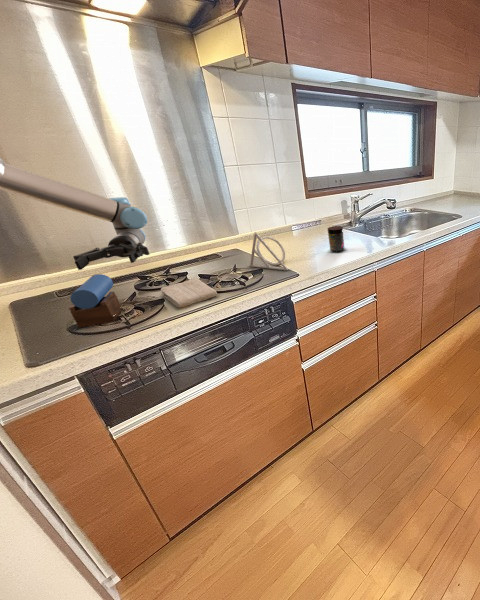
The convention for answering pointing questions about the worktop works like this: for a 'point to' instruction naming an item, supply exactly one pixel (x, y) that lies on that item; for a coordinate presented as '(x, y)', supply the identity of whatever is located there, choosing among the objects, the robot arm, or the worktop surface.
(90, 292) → the tube
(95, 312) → the cradle
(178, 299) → the washcloth
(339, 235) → the supplement container
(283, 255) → the wire frame
